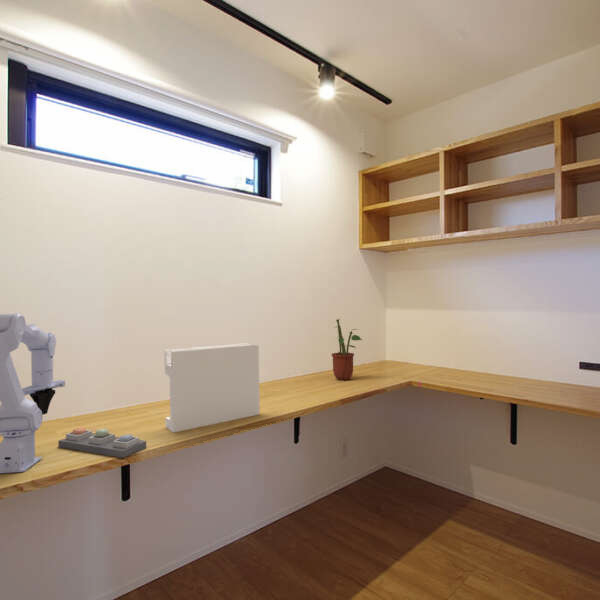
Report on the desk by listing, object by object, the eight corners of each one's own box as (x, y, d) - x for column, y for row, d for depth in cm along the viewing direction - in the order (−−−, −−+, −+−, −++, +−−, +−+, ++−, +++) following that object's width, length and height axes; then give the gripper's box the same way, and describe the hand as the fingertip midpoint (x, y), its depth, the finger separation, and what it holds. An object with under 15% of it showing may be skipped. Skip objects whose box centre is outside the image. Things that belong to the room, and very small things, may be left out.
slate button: (135, 440, 121) (135, 435, 121) (126, 443, 117) (126, 438, 118) (126, 438, 122) (126, 433, 122) (117, 442, 119) (116, 437, 119)
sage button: (110, 433, 125) (110, 429, 125) (101, 437, 121) (101, 432, 121) (102, 432, 126) (102, 428, 126) (92, 436, 123) (92, 431, 123)
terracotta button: (88, 433, 128) (88, 428, 128) (78, 436, 125) (78, 431, 125) (80, 432, 130) (80, 427, 130) (70, 435, 126) (70, 430, 126)
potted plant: (334, 381, 223) (332, 319, 224) (329, 377, 239) (328, 319, 239) (364, 380, 225) (363, 319, 225) (358, 376, 240) (356, 318, 241)
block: (173, 432, 137) (172, 351, 138) (165, 427, 144) (164, 350, 144) (259, 414, 159) (258, 344, 159) (249, 410, 165) (248, 343, 165)
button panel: (146, 447, 123) (146, 435, 123) (123, 458, 114) (123, 445, 114) (83, 438, 133) (83, 427, 133) (58, 447, 125) (58, 435, 125)
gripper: (29, 375, 117) (30, 421, 117) (71, 367, 131) (72, 408, 131) (12, 374, 119) (12, 419, 119) (55, 366, 133) (56, 407, 133)
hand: (42, 413), depth 125 cm, fingers closed
